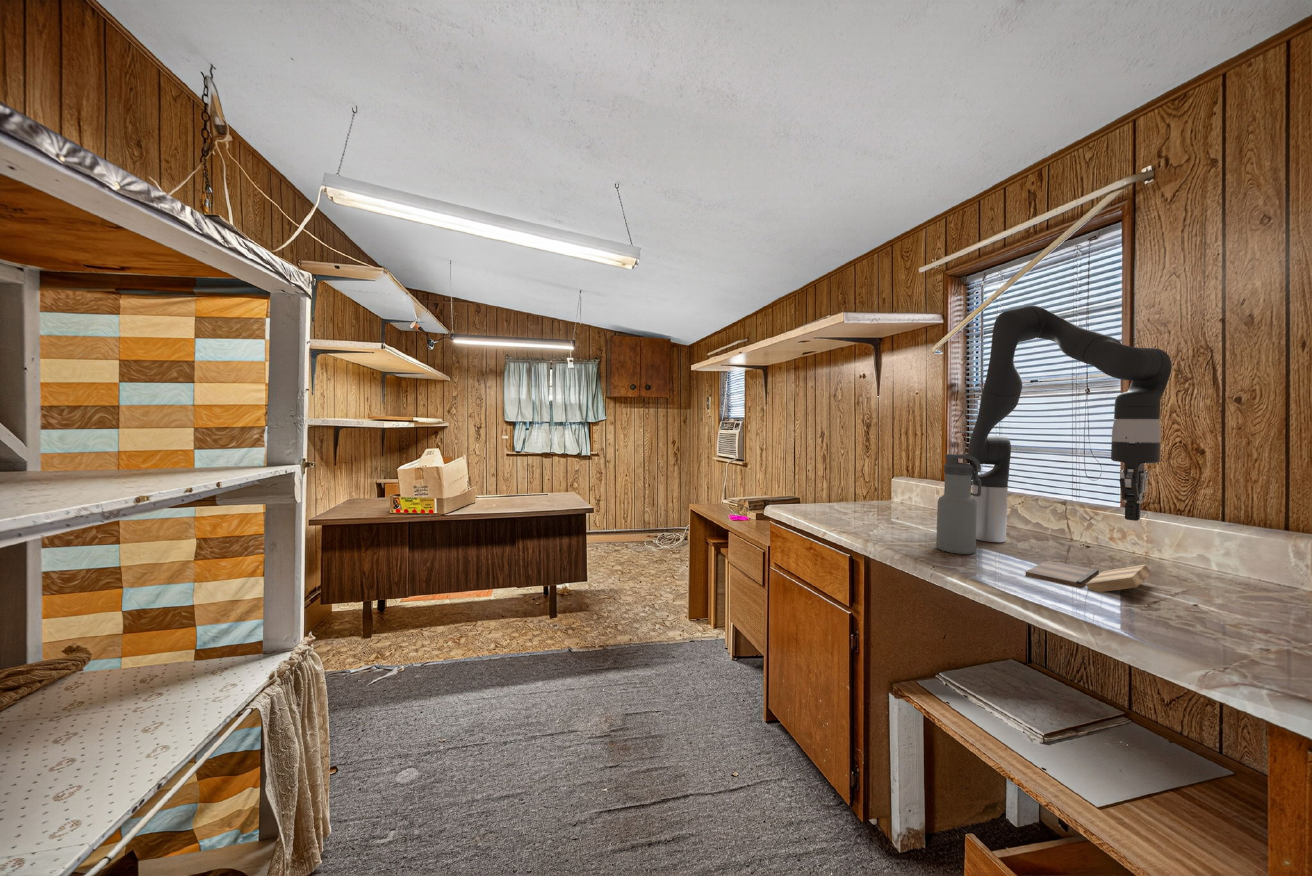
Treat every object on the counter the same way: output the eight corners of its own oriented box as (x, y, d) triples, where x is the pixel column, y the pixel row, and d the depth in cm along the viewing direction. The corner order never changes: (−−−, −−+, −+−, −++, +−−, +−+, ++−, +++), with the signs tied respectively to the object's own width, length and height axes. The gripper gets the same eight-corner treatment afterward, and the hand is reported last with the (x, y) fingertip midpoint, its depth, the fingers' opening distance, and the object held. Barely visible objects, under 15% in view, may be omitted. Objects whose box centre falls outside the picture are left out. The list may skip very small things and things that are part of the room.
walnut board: (1046, 568, 123) (1046, 559, 123) (1098, 578, 115) (1099, 569, 115) (1025, 580, 113) (1025, 570, 113) (1080, 592, 105) (1081, 581, 105)
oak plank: (1107, 579, 114) (1103, 571, 114) (1150, 573, 108) (1145, 564, 108) (1090, 593, 104) (1085, 583, 105) (1136, 587, 98) (1131, 577, 99)
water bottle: (965, 546, 144) (968, 453, 143) (984, 555, 134) (988, 456, 133) (930, 545, 145) (932, 453, 144) (946, 554, 135) (949, 455, 134)
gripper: (1118, 439, 111) (1115, 514, 111) (1104, 439, 103) (1101, 520, 103) (1165, 440, 105) (1162, 519, 105) (1154, 441, 97) (1151, 526, 97)
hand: (1132, 519), depth 104 cm, fingers closed
